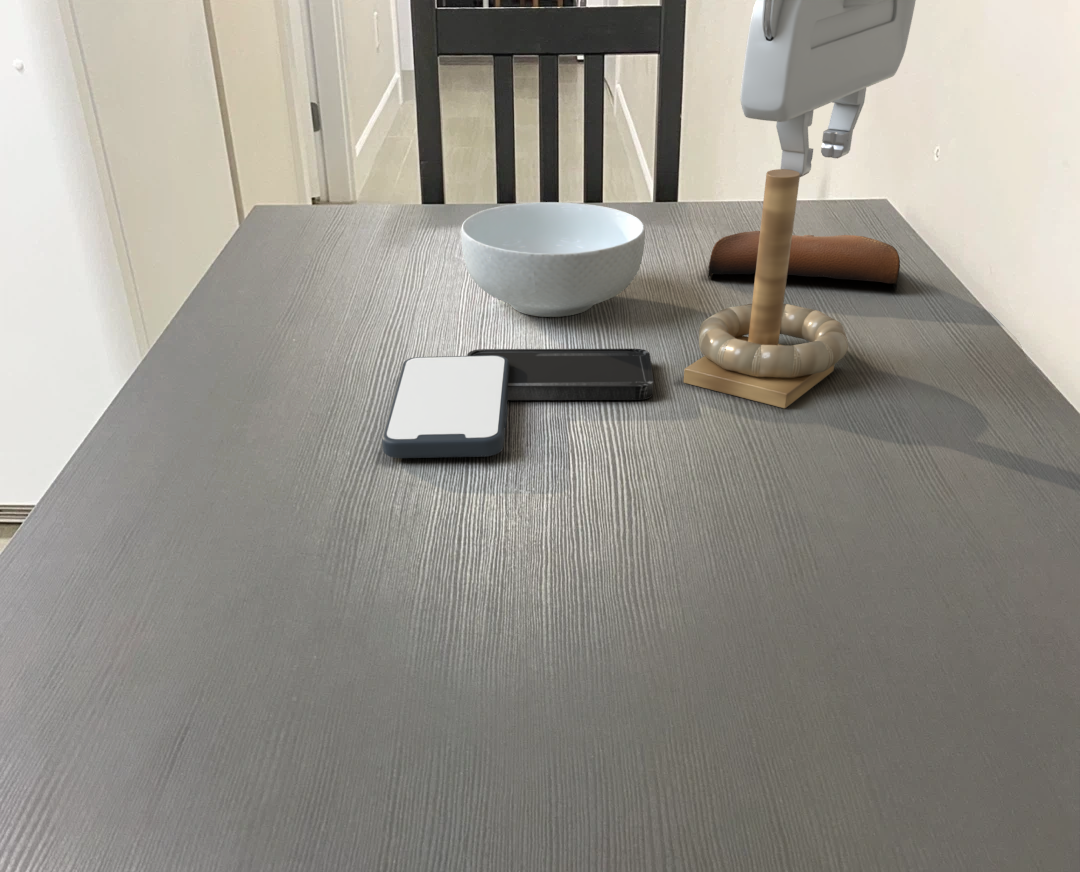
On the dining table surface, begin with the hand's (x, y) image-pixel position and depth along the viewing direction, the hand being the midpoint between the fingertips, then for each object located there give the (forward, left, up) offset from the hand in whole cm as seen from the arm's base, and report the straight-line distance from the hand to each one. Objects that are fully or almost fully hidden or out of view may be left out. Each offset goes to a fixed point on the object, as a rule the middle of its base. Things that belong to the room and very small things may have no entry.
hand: (815, 165), depth 82 cm
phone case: (+16, +25, -15) cm, 33 cm away
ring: (0, +3, -12) cm, 13 cm away
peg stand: (0, +5, -15) cm, 16 cm away
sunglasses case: (+8, -20, -15) cm, 26 cm away
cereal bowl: (+24, 0, -15) cm, 28 cm away
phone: (+13, +15, -15) cm, 25 cm away
